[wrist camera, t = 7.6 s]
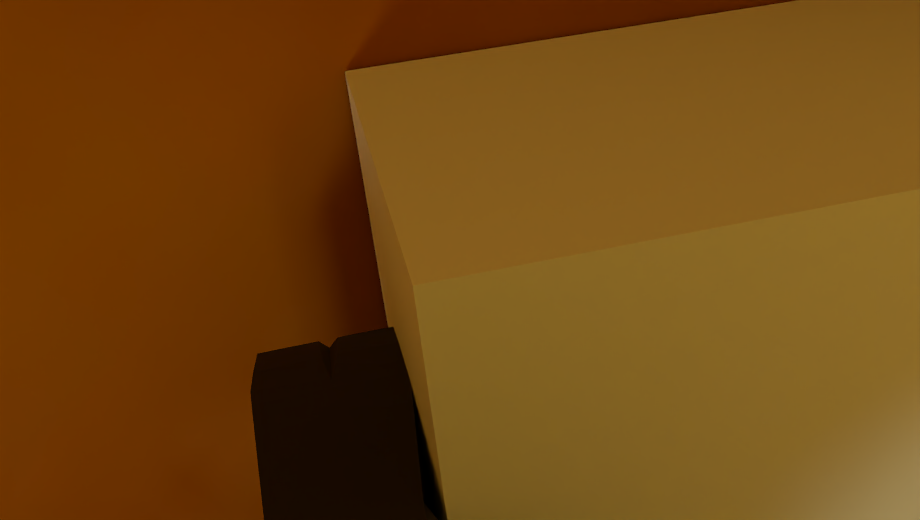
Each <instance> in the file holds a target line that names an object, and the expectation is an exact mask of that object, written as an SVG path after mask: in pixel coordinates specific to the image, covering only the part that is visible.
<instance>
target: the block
mask: <svg viewBox="0 0 920 520" xmlns="http://www.w3.org/2000/svg"><path fill="white" fill-rule="evenodd" d="M345 76H346V82H347V88H348V94H349V100H350V106H351V112H352V117H353V123H354V129H355V135H356V141H357V147H358V153H359V159H360V165H361V171H362V176H363V182H364V188H365V194H366V200H367V206H368V212H369V218H370V224H371V230H372V235H373V241H374V247H375V253H376V259H377V265H378V271H379V277H380V283H381V289H382V294H383V300H384V306H385V312H386V318H387V324H388V327H394V330H395V333H396V336H397V339H398V342H399V345H400V348H401V352H402V355H403V358H404V361H405V365H406V368H407V372H408V375H409V378H410V382H411V387H412V393H413V399H414V405H415V412H416V418H417V424H418V430H419V437H420V443H421V449H422V455H423V461H424V468H425V474H426V480H427V486H428V493H429V499H430V505H431V511H432V513H433V514H434V515H435V516H436V518H437V519H438V520H920V0H796V1H790V2H784V3H777V4H771V5H764V6H758V7H752V8H745V9H739V10H732V11H726V12H720V13H713V14H707V15H700V16H694V17H688V18H681V19H675V20H668V21H662V22H656V23H649V24H643V25H636V26H630V27H624V28H617V29H611V30H604V31H598V32H592V33H585V34H579V35H572V36H566V37H560V38H553V39H547V40H540V41H534V42H528V43H521V44H515V45H508V46H502V47H496V48H489V49H483V50H476V51H470V52H464V53H457V54H451V55H444V56H438V57H432V58H425V59H419V60H412V61H406V62H400V63H393V64H387V65H380V66H374V67H368V68H361V69H355V70H348V71H345Z"/></svg>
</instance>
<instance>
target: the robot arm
mask: <svg viewBox="0 0 920 520" xmlns="http://www.w3.org/2000/svg"><path fill="white" fill-rule="evenodd" d="M251 401H252V411H253V421H254V431H255V440H256V449H257V459H258V468H259V477H260V487H261V496H262V505H263V514H264V520H438V519H437V518H436V516H435V515H434V514H433V513H432V511H431V505H430V499H429V493H428V486H427V480H426V474H425V468H424V461H423V455H422V449H421V443H420V437H419V430H418V424H417V418H416V412H415V405H414V399H413V393H412V387H411V382H410V378H409V375H408V372H407V368H406V365H405V361H404V358H403V355H402V352H401V348H400V345H399V342H398V339H397V336H396V333H395V330H394V327H388V328H383V329H378V330H373V331H368V332H363V333H358V334H353V335H348V336H343V337H338V338H337V339H336V341H335V342H334V343H333V344H332V346H331V347H330V348H329V347H327V346H325V345H324V344H322V343H320V342H319V341H318V342H313V343H308V344H303V345H298V346H293V347H288V348H283V349H278V350H273V351H268V352H263V353H258V354H257V359H256V363H255V367H254V372H253V379H252V385H251Z"/></svg>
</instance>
